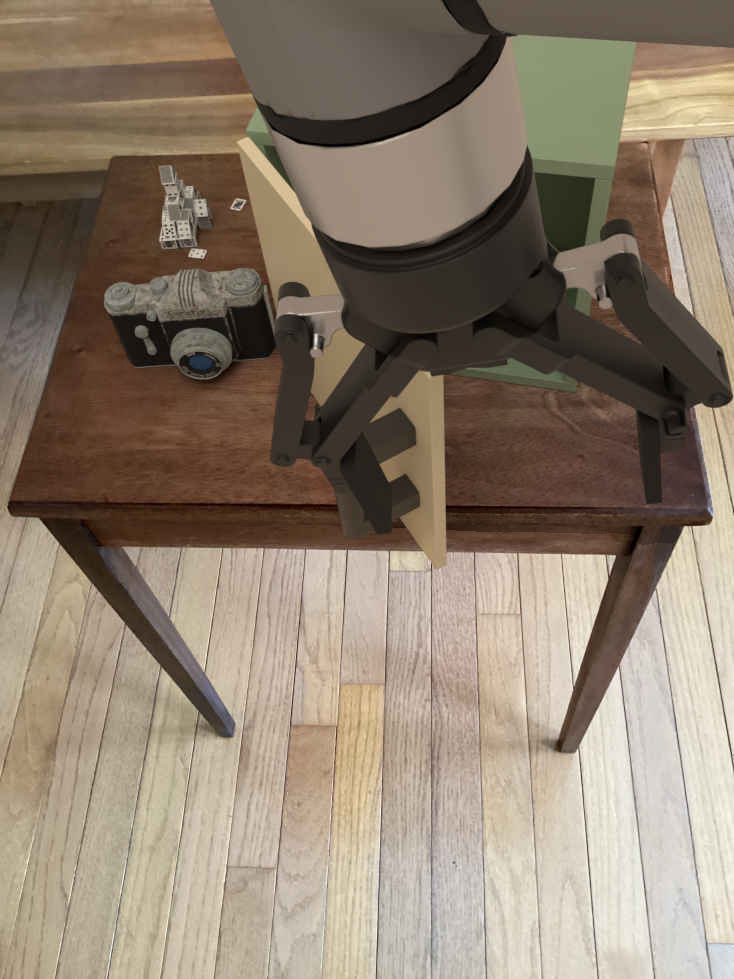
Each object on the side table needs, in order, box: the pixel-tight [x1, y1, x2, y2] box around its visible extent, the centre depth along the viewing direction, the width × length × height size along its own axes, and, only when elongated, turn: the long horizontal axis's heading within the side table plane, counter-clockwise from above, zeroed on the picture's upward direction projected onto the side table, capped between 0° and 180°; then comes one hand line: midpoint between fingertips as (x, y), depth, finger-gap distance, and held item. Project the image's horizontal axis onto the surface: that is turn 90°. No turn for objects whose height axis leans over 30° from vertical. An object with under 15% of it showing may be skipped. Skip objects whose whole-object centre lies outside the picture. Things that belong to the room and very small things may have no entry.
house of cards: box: [158, 164, 248, 260], centre depth 95 cm, size 9×9×8 cm
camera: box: [103, 267, 277, 381], centre depth 84 cm, size 15×7×10 cm, turn 91°
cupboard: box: [245, 35, 638, 393], centre depth 79 cm, size 18×26×24 cm
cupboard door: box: [236, 136, 448, 570], centre depth 70 cm, size 7×26×24 cm, turn 30°
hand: (513, 496), depth 47 cm, fingers open, 13 cm apart
